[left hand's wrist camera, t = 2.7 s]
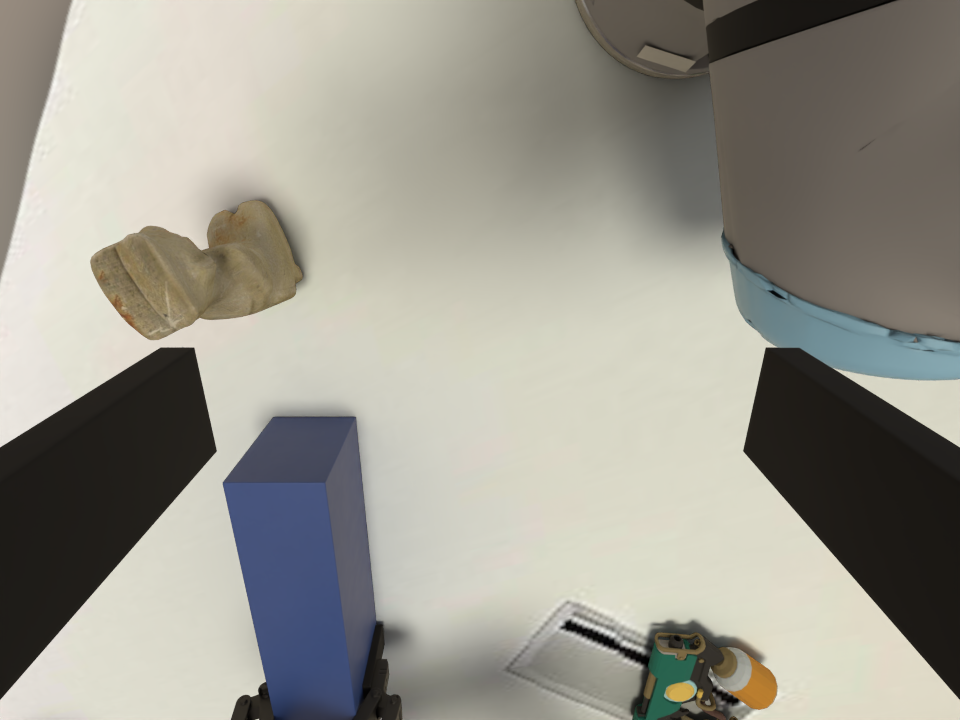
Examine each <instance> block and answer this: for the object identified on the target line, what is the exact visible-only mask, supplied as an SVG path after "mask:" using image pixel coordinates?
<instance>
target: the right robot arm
mask: <svg viewBox="0 0 960 720" xmlns="http://www.w3.org/2000/svg"><path fill="white" fill-rule="evenodd" d="M383 649H384V634H383V625H375V629H374V634H373V638H372V643H371V647H370V652H369V657H368V661H367V666H366V670H365V675H364V679H363V684H362V689H363V697H364V701H363V703H362V705H361V706H360V708H359V710H358V711H357V713H356V715H355V716H354V718H353V720H380V719H381V718H382V720H402V706H401V698H400V696H399V695H396V694H395V695H391V696H389V695H387V694H386V690H387V684H388V678H389V667H388V661H387V659H382V654H383ZM258 692H259V695H256V696H253V697H250V696H249V695H243V696H241V697H240V698H239V699H238V700H237V702H236V705H235V708H234V712H233V715H232V718H231V720H256V719H259V720H275V717H274V715H273V710H272V706H271V701H270V697H269V692H268V688H267V683H266V682H265V683H263V684H262V685H260V687H259V689H258Z"/></svg>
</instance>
